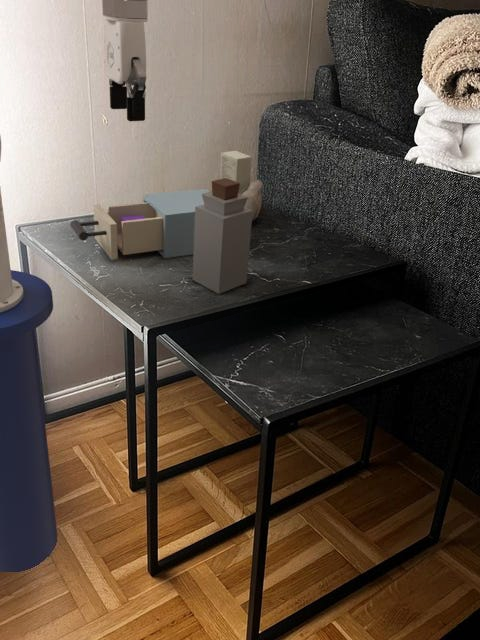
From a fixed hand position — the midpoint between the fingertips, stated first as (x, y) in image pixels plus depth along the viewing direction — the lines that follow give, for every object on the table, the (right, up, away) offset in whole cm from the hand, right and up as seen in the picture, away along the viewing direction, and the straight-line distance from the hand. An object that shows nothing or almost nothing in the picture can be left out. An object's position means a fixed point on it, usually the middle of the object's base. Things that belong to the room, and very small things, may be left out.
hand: (127, 114), depth 112 cm
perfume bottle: (+17, -31, -4) cm, 36 cm away
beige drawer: (-2, -24, +4) cm, 24 cm away
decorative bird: (+22, -17, +22) cm, 35 cm away
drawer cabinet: (+10, -22, +10) cm, 26 cm away
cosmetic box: (+19, -11, +30) cm, 38 cm away
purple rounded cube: (+1, -22, +4) cm, 23 cm away
